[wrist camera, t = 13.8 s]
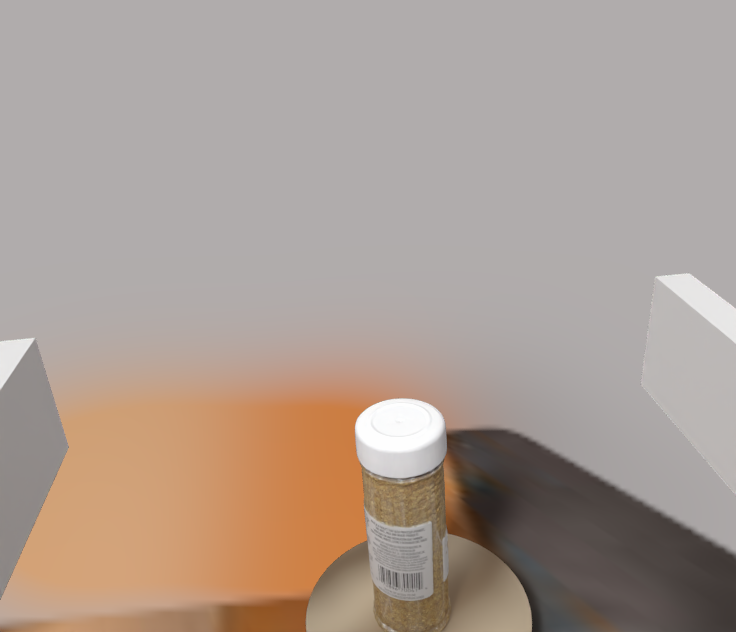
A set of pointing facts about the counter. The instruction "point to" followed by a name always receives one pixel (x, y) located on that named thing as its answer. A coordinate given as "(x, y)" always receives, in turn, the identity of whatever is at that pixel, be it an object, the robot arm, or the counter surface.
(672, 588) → the counter surface
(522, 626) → the disc
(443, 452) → the spice jar
